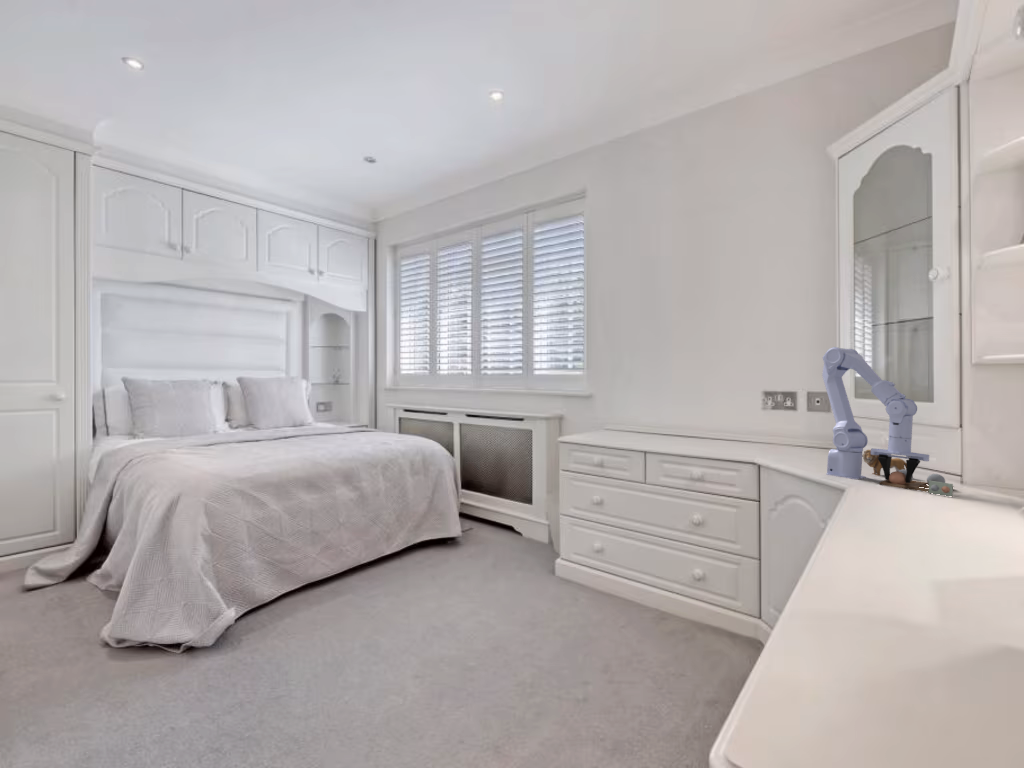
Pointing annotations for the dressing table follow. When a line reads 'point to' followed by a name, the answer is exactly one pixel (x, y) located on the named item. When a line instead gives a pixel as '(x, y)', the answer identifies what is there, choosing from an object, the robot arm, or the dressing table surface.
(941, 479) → the grey ball right
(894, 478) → the terracotta ball
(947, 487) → the card
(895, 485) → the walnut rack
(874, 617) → the dressing table surface
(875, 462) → the lion figurine
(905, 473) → the grey ball left
